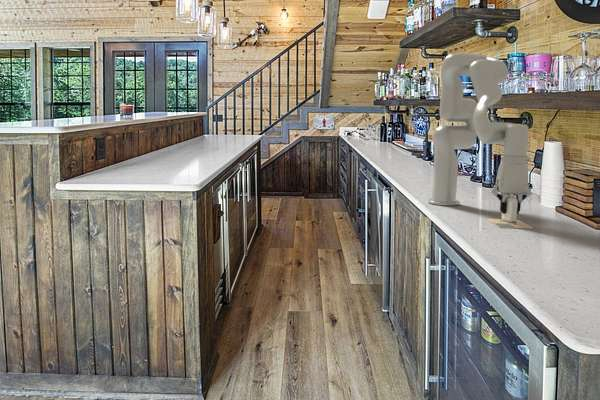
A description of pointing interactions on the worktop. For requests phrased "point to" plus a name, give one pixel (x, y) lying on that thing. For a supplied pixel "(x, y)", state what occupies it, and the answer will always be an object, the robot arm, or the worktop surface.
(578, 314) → the worktop surface
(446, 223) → the worktop surface
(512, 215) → the eye dropper bottle
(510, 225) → the card
